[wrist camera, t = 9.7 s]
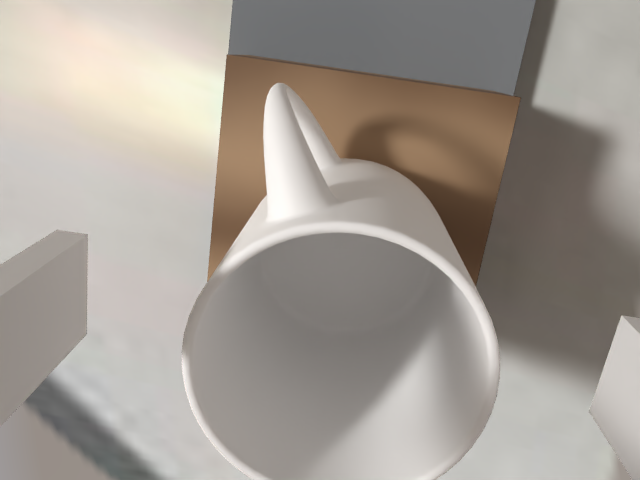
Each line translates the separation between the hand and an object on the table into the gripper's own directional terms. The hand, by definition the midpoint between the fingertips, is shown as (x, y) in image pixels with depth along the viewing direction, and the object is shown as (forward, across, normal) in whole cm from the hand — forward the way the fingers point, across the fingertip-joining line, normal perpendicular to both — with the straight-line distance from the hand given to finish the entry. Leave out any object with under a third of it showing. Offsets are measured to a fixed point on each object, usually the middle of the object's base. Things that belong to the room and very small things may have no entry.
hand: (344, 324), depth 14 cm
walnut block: (+16, 0, -1) cm, 17 cm away
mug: (+12, 0, -1) cm, 12 cm away
